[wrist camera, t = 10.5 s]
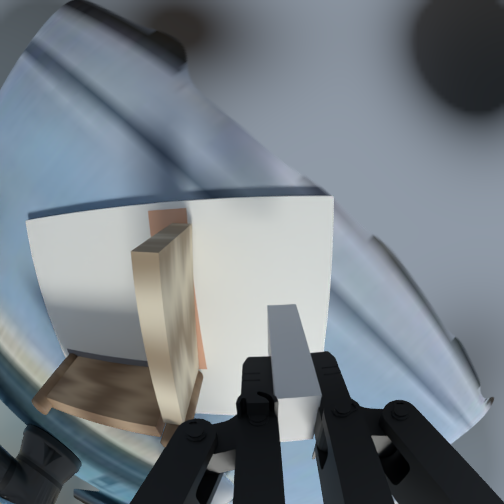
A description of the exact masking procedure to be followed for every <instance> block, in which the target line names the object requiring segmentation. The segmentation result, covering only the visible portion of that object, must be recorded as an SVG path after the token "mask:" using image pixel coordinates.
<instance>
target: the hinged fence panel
mask: <svg viewBox="0 0 504 504" xmlns="http://www.w3.org/2000/svg"><path fill="white" fill-rule="evenodd" d="M131 260H132V270H133V279H134V287H135V294H136V301H137V308H138V314H139V320H140V326H141V332H142V337H143V342H144V347H145V352H146V357H147V361H148V366H149V370H150V374H151V378H152V382H153V386H154V390H155V394H156V398H157V401H158V405H159V408H160V412H161V415H162V418H163V422H164V423H169V424H175V425H180V424H181V423H183V422H185V418H186V414H187V410H188V407H189V403H190V399H191V395H192V392H193V388H194V384H195V381H196V377H197V373H198V370H199V360H198V348H197V335H196V320H195V303H194V282H193V249H192V224H187V223H172V224H170V225H169V226H167V227H166V228H164V229H163V230H161V231H160V232H158V233H157V234H155V235H154V236H152V237H151V238H149V239H148V240H146V241H145V242H143V243H142V244H140V245H139V246H138V247H136V248H135V249H133V250H132V251H131Z"/></svg>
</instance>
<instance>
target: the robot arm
mask: <svg viewBox="0 0 504 504" xmlns="http://www.w3.org/2000/svg"><path fill="white" fill-rule="evenodd" d="M267 322H268V356H262V357H247V359H246V360H245V362H244V363H243V364H242V382H241V395H240V396H239V397H238V398H237V401H236V409H237V414H236V415H235V416H234V417H233V418H231V419H230V420H228V421H225V422H221V423H217V424H211V423H210V422H208V421H206V420H204V419H196V418H195V419H190V420H187V421H185V422H183V423H181V424H180V425H179V426H178V428H177V429H176V431H175V432H174V434H173V436H172V437H171V439H170V441H169V442H168V444H167V445H166V447H165V449H164V450H163V452H162V453H161V455H160V457H159V458H158V460H157V462H156V463H155V465H154V466H153V468H152V469H151V471H150V473H149V474H148V476H147V477H146V479H145V481H144V482H143V484H142V485H141V487H140V488H139V490H138V491H137V493H136V495H135V496H134V498H133V499H132V501H131V502H130V504H211V502H212V500H213V497H214V495H215V493H216V490H217V488H218V486H219V483H220V481H221V479H222V476H223V474H224V472H226V471H230V470H235V475H234V493H233V504H285V496H284V483H283V471H282V458H281V446H280V442H287V441H298V440H308V439H313V436H314V434H315V439H316V444H315V448H314V452H313V457H312V459H315V457H316V461H317V466H318V472H319V478H320V484H321V490H322V496H323V502H324V504H395V503H394V500H393V497H394V499H395V500H396V501H397V503H398V504H504V502H503V501H502V500H501V499H500V498H499V496H498V495H497V494H496V493H495V492H494V491H493V490H492V489H491V488H490V487H489V486H488V484H487V483H486V482H485V481H484V480H483V479H482V478H481V477H480V476H479V475H478V474H477V472H476V471H475V470H474V469H473V468H472V467H471V466H470V465H469V464H468V463H467V462H466V461H465V460H464V458H463V457H462V456H461V455H460V454H459V453H458V452H457V451H456V450H455V449H454V448H453V447H452V446H451V445H450V444H449V442H448V441H447V440H446V439H445V438H444V437H443V436H442V435H441V434H440V433H439V432H438V431H437V430H436V429H435V428H434V427H433V426H432V424H431V423H430V422H429V421H428V420H427V419H426V418H425V417H424V416H423V415H422V414H421V413H420V412H419V411H418V410H417V409H416V408H415V407H414V406H413V405H412V404H411V403H409V402H407V401H404V400H395V401H392V402H389V403H388V404H387V405H386V406H385V407H384V409H370V408H364V407H361V406H359V404H358V403H357V402H356V401H354V400H353V399H351V397H350V395H349V392H348V390H347V387H346V384H345V382H344V379H343V377H342V374H341V371H340V369H339V367H338V364H337V361H336V359H335V357H334V356H333V355H331V354H330V353H329V352H328V351H325V352H315V353H310V350H309V347H308V343H307V340H306V336H305V333H304V330H303V326H302V323H301V319H300V316H299V313H298V309H297V306H296V304H287V305H267ZM23 435H24V437H23V440H22V444H21V449H20V452H19V454H18V456H17V457H16V458H14V457H12V456H11V455H10V454H9V453H8V452H7V451H6V450H5V449H4V448H3V447H2V446H1V445H0V502H1V503H2V504H55V502H56V500H57V498H58V495H59V493H60V491H61V488H62V486H63V484H64V483H65V482H67V481H68V480H69V479H70V478H71V477H72V476H73V475H74V474H75V473H77V472H78V471H79V469H80V467H81V462H80V460H79V459H78V458H77V457H76V456H75V455H74V454H73V453H72V452H71V451H70V450H69V449H67V448H66V447H65V446H64V445H63V444H61V443H60V442H59V441H57V440H56V439H55V438H53V437H52V436H51V435H49V434H48V433H46V432H45V431H43V430H41V429H40V428H38V427H36V426H34V425H30V424H29V425H27V427H26V428H25V430H24V432H23ZM392 496H393V497H392Z"/></svg>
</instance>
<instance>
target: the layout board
mask: <svg viewBox="0 0 504 504" xmlns="http://www.w3.org/2000/svg"><path fill="white" fill-rule="evenodd" d="M333 214H334V196H332V195H301V196H256V197H232V198H213V199H197V200H183V201H170V202H158V203H148V204H137V205H128V206H119V207H110V208H102V209H94V210H87V211H80V212H73V213H66V214H59V215H53V216H47V217H41V218H35V219H29V220H26V226H27V232H28V238H29V243H30V248H31V253H32V258H33V262H34V266H35V270H36V274H37V278H38V282H39V286H40V289H41V292H42V296H43V299H44V302H45V305H46V308H47V311H48V314H49V317H50V320H51V323H52V325H53V328H54V331H55V333H56V336H57V338H58V341H59V343H60V346H61V348H62V350H63V353H64V355H65V357H67V356H68V355H69V354H70V353H73V354H75V355H77V356H80V357H85V358H90V359H96V360H102V361H108V362H114V363H121V364H128V365H135V366H144V367H149V366H148V361H147V357H146V352H145V347H144V342H143V337H142V332H141V326H140V320H139V314H138V308H137V301H136V294H135V287H134V279H133V270H132V260H131V251H132V250H133V249H135V248H136V247H138V246H139V245H140V244H142V243H143V242H145V241H146V240H148V239H149V238H151V237H152V236H154V235H155V234H157V233H158V232H160V231H161V230H163V229H164V228H166V227H167V226H169V225H170V224H172V223H187V224H192V249H193V282H194V303H195V320H196V335H197V348H198V360H199V371H200V372H201V373H202V374H203V382H202V386H201V390H200V394H199V398H198V403H197V407H196V411H195V413H200V414H217V415H236V414H237V409H236V401H237V398H238V397H239V396H240V395H241V382H242V364H243V363H244V362H245V360H246V359H247V357H262V356H268V322H267V305H287V304H296V306H297V309H298V313H299V316H300V319H301V323H302V326H303V330H304V333H305V336H306V340H307V343H308V347H309V350H310V353H315V352H324V344H325V335H326V326H327V317H328V306H329V295H330V281H331V266H332V247H333Z"/></svg>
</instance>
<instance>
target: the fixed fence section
mask: <svg viewBox="0 0 504 504" xmlns="http://www.w3.org/2000/svg"><path fill="white" fill-rule="evenodd" d="M202 382H203V374H202V373H201V372H200V371H199V370H198V373H197V377H196V381H195V384H194V388H193V392H192V395H191V399H190V403H189V407H188V410H187V414H186V418H185V421H187V420H190V419H194V415H195V411H196V407H197V403H198V398H199V394H200V390H201V386H202ZM32 403H33V405H34V406H35V407H36V408H37V409H38V410H39V411H40V412H41V413H43V414H45V415H47V414H48V412H49V411H50V409H51V408H52V407H53V408H55V409H57V410H60V411H63V412H65V413H68V414H71V415H74V416H77V417H80V418H83V419H86V420H89V421H93V422H96V423H99V424H103V425H107V426H110V427H114V428H118V429H122V430H127V431H131V432H136V433H141V434H146V435H151V436H157V437H161V435H162V432H163V429H164V426H165V423H164V422H163V418H162V415H161V412H160V408H159V405H158V401H157V398H156V394H155V390H154V386H153V382H152V378H151V374H150V370H149V367H144V366H135V365H128V364H121V363H114V362H108V361H102V360H96V359H90V358H85V357H80V356H77V355H75V354H73V353H70V354H69V355H68V356H67V357H66V359H65V360H64V361H63V362H62V363H61V364H60V366H59V367H58V368H57V369H56V370H55V372H54V373H53V374H52V375H51V376H50V378H49V379H48V380H47V381H46V383H45V384H44V385H43V386H42V388H41V389H40V390H39V391H38V393H37V394H36V395H35V396H34V398H33V399H32ZM178 426H179V425H175V424H169V423H166V426H165V429H164V432H163V435H162V438H161V444H162V445H163V446H164V447H166V445H167V444H168V442H169V441H170V439H171V437H172V436H173V434H174V432H175V431H176V429H177V428H178Z"/></svg>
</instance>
